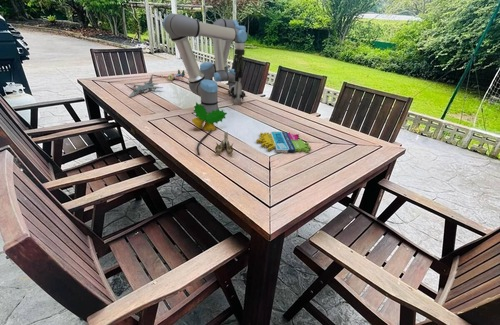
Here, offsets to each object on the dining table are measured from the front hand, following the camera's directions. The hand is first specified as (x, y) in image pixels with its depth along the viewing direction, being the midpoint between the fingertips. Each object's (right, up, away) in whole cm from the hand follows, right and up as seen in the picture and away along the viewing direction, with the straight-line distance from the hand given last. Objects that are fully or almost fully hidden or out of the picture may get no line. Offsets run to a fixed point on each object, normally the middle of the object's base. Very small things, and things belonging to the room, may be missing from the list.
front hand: (238, 80), depth 206 cm
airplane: (-84, -2, +23) cm, 87 cm away
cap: (0, +2, -1) cm, 2 cm away
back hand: (0, -13, +2) cm, 13 cm away
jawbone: (-4, -59, -67) cm, 89 cm away
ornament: (-16, -43, -41) cm, 62 cm away
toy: (-71, +26, +76) cm, 107 cm away
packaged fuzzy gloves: (+28, -53, -53) cm, 80 cm away
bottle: (-1, -16, +9) cm, 19 cm away
